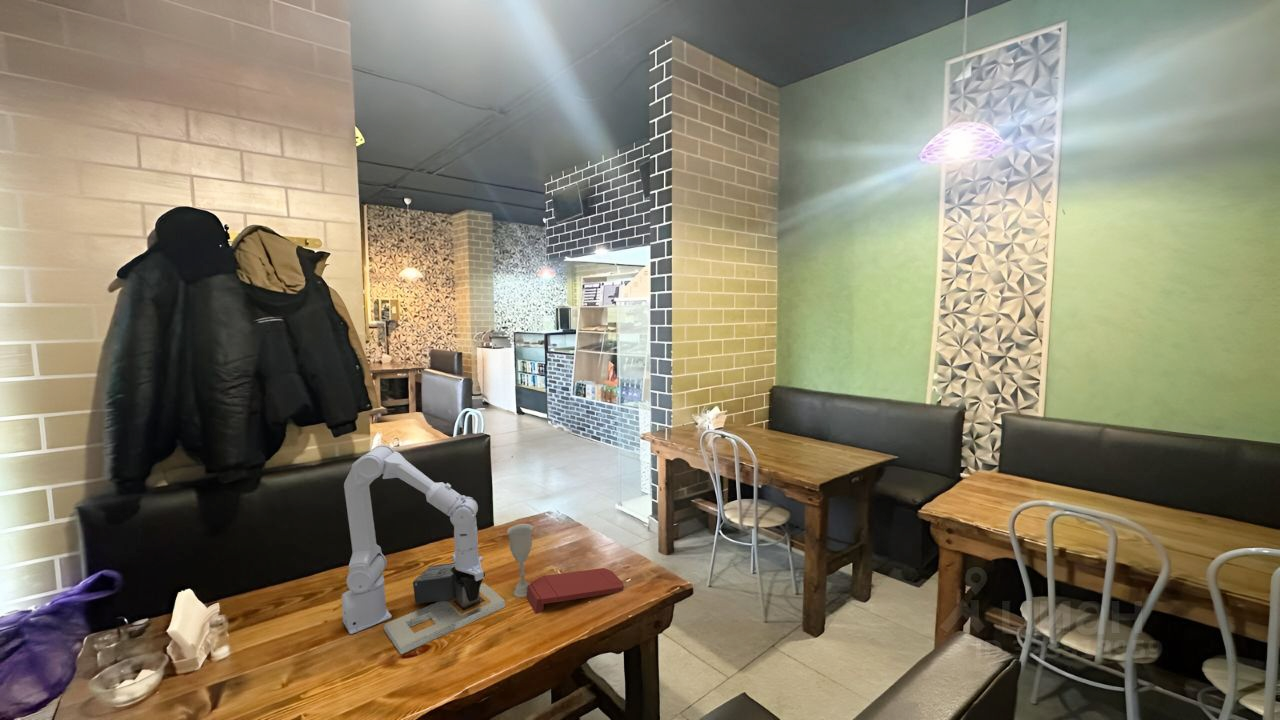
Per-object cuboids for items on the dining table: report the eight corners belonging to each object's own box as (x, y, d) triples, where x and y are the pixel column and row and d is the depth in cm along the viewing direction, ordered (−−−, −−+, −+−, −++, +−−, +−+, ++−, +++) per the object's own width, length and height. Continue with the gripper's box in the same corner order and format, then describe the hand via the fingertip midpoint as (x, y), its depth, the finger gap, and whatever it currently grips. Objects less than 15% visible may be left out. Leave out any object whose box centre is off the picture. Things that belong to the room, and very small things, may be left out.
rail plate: (400, 654, 111) (400, 646, 111) (384, 630, 120) (384, 623, 120) (505, 606, 129) (504, 599, 129) (484, 589, 138) (484, 582, 138)
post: (463, 613, 125) (462, 587, 125) (456, 606, 129) (454, 581, 128) (480, 606, 128) (478, 580, 128) (472, 599, 132) (471, 574, 131)
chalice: (528, 600, 132) (526, 535, 130) (505, 597, 133) (502, 534, 132) (539, 585, 139) (537, 524, 137) (517, 583, 140) (514, 522, 139)
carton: (606, 583, 147) (524, 595, 135) (608, 567, 147) (526, 577, 135) (624, 603, 136) (537, 618, 124) (626, 586, 136) (539, 599, 124)
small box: (431, 588, 139) (414, 605, 129) (429, 565, 140) (411, 580, 129) (468, 583, 139) (453, 600, 129) (465, 560, 140) (450, 575, 129)
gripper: (493, 550, 125) (496, 601, 126) (469, 532, 135) (471, 579, 136) (467, 560, 120) (469, 612, 121) (443, 541, 130) (446, 589, 132)
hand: (469, 596), depth 128 cm, fingers closed on post, 4 cm apart
